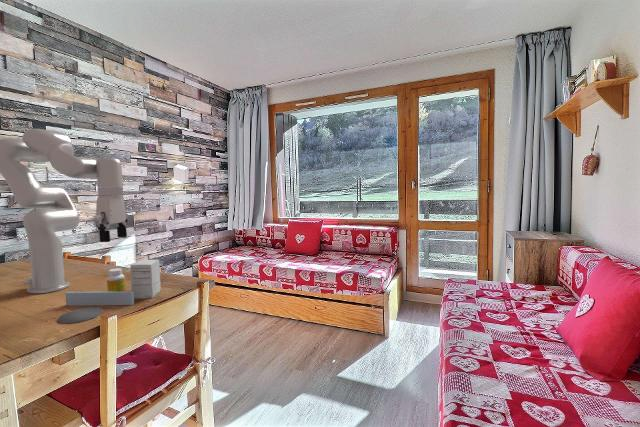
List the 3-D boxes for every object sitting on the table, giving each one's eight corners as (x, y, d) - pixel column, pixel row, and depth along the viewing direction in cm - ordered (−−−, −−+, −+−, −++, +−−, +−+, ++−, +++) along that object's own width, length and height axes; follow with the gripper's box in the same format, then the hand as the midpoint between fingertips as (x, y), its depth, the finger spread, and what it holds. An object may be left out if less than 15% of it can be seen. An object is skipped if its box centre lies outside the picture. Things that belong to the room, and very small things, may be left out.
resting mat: (48, 323, 90) (48, 322, 90) (76, 308, 101) (76, 307, 101) (86, 323, 91) (86, 322, 91) (110, 308, 102) (110, 307, 102)
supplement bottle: (116, 298, 111) (115, 272, 110) (104, 297, 112) (102, 271, 111) (128, 293, 116) (127, 268, 115) (116, 292, 117) (115, 267, 116)
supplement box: (141, 291, 118) (139, 259, 117) (161, 291, 118) (160, 259, 117) (131, 298, 110) (129, 264, 109) (152, 298, 111) (151, 264, 110)
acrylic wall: (66, 305, 104) (65, 293, 104) (69, 304, 105) (68, 291, 105) (132, 304, 105) (131, 292, 104) (134, 303, 106) (133, 291, 106)
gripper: (115, 192, 119) (118, 235, 121) (82, 193, 102) (86, 244, 103) (135, 192, 119) (137, 235, 121) (105, 193, 102) (109, 243, 104)
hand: (114, 239), depth 112 cm, fingers open, 9 cm apart
